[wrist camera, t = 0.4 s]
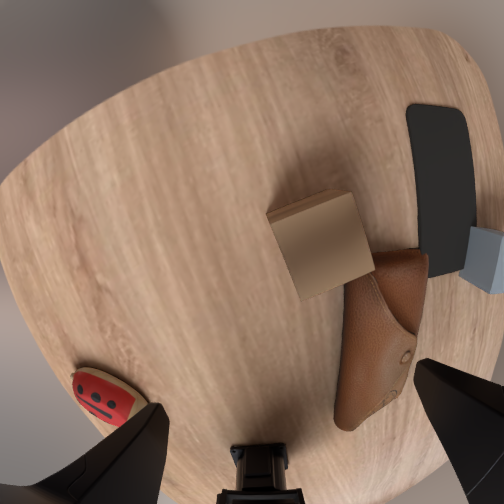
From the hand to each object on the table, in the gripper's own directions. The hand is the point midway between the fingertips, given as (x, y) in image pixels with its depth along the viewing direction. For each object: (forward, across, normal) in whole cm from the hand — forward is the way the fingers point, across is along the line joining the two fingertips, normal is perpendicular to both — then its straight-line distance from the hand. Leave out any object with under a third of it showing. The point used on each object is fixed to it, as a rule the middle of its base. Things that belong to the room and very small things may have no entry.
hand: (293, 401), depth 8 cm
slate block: (+14, -21, +2) cm, 25 cm away
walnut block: (+13, -3, -3) cm, 14 cm away
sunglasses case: (+14, -9, +8) cm, 19 cm away
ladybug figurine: (+14, +19, +11) cm, 26 cm away
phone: (+14, -17, -5) cm, 22 cm away
